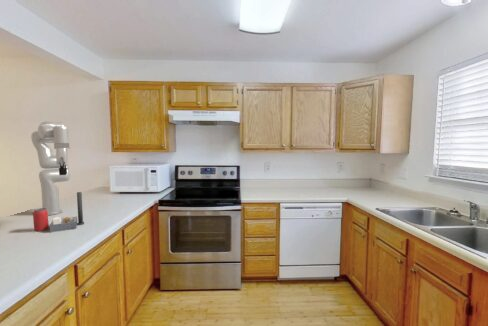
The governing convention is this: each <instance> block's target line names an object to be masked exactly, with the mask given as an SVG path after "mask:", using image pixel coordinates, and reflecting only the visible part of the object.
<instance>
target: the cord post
mask: <svg viewBox="0 0 488 326" xmlns="http://www.w3.org/2000/svg"><path fill="white" fill-rule="evenodd" d="M82 195H83V194H82V191H78V192H76V203H77V204H76V205H77V226H82V225H85V221H84V216H83V215H84V214H83V196H82Z"/></svg>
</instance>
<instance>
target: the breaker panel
mask: <svg viewBox="0 0 488 326" xmlns="http://www.w3.org/2000/svg"><path fill="white" fill-rule="evenodd" d="M77 223H78V215H75V216H66V217H61V223H60V224H55V225H53V219H52V221H51V222H50V225H49V232H50V233H54V232H61V231H68V230H75V229H77V226H78V225H77Z"/></svg>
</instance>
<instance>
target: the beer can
mask: <svg viewBox="0 0 488 326" xmlns="http://www.w3.org/2000/svg"><path fill="white" fill-rule="evenodd" d="M32 216H33V217H32V218H33V220H32V221H33V231H34V232H44V231H46V230H48V229H50V225H49V215H48V212H47V210H46V208H43V207H42V208H37V209H34V210H33V213H32Z"/></svg>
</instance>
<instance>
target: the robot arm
mask: <svg viewBox="0 0 488 326" xmlns="http://www.w3.org/2000/svg"><path fill="white" fill-rule="evenodd" d="M69 133H70V132H69V127H67V126H66V125H65V124H64V123H63V122H59V121H43V122H41V123H39V126H38V127H37V130H36V131H33V132H32V133H31V136H30V137H31V142H32V145H33V146H34V148H35V150H36V151H37V157H38V163H39V166H40V168H41V169H43V170H41V171H40V172H39V173H38V180H39V183H40V188H41V191H40V192H41V201H42V202H41V203H42V204H41V205H42V206H41V207H42V208H46V210H47V212H48V216H53V215H54V216H55V215H59V214H61V213H63V209H60V192H59V187H58V186H57V185H56V184H55V183H62V182H68V181H69V180H70V179H71V173H70V170H69V163H68V159H69V158H68V149H70V148H71V147H70V134H69ZM48 144H53V147H54V148H53V149H54V150H55V153H56V154H54V153H53V149H52V148H51V147H50V146H49V145H48Z"/></svg>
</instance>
